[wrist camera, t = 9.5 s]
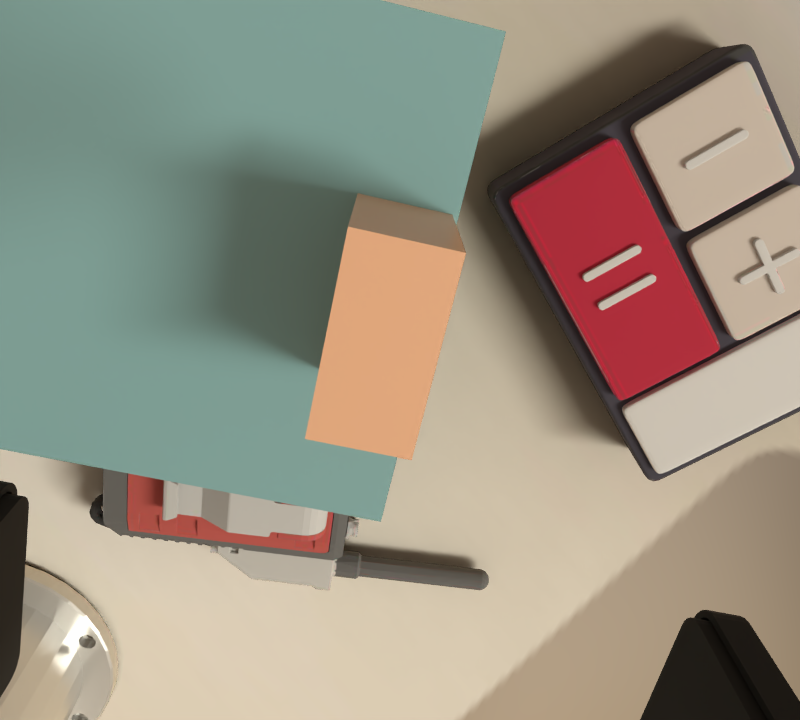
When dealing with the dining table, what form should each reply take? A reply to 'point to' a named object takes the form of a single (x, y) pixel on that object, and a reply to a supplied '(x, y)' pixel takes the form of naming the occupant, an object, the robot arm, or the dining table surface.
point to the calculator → (673, 257)
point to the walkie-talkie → (257, 534)
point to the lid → (232, 236)
